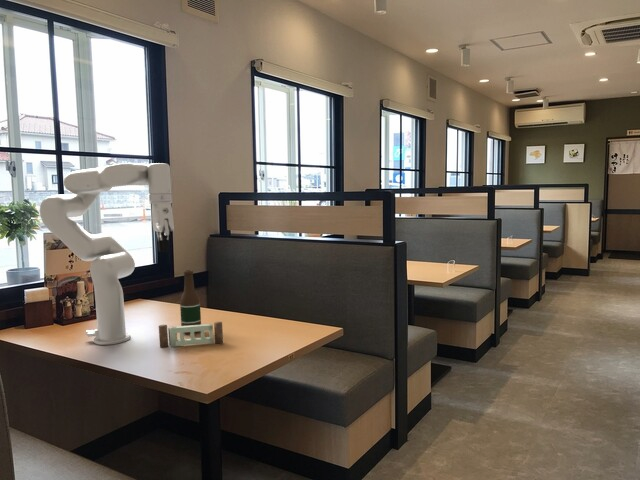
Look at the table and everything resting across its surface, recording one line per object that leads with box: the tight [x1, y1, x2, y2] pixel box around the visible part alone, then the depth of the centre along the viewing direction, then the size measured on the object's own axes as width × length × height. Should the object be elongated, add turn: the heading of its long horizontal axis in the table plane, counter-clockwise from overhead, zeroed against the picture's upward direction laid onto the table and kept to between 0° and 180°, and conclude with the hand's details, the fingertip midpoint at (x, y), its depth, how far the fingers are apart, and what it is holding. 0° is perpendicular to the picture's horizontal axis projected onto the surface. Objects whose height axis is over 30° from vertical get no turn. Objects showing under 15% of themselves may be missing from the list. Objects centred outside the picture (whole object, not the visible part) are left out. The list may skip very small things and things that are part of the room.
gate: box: [168, 323, 214, 348], centre depth 175 cm, size 15×2×6 cm, turn 101°
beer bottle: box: [179, 269, 202, 336], centre depth 192 cm, size 8×8×24 cm
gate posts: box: [158, 321, 224, 349], centre depth 177 cm, size 22×4×8 cm, turn 96°
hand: (163, 251), depth 177 cm, fingers closed
